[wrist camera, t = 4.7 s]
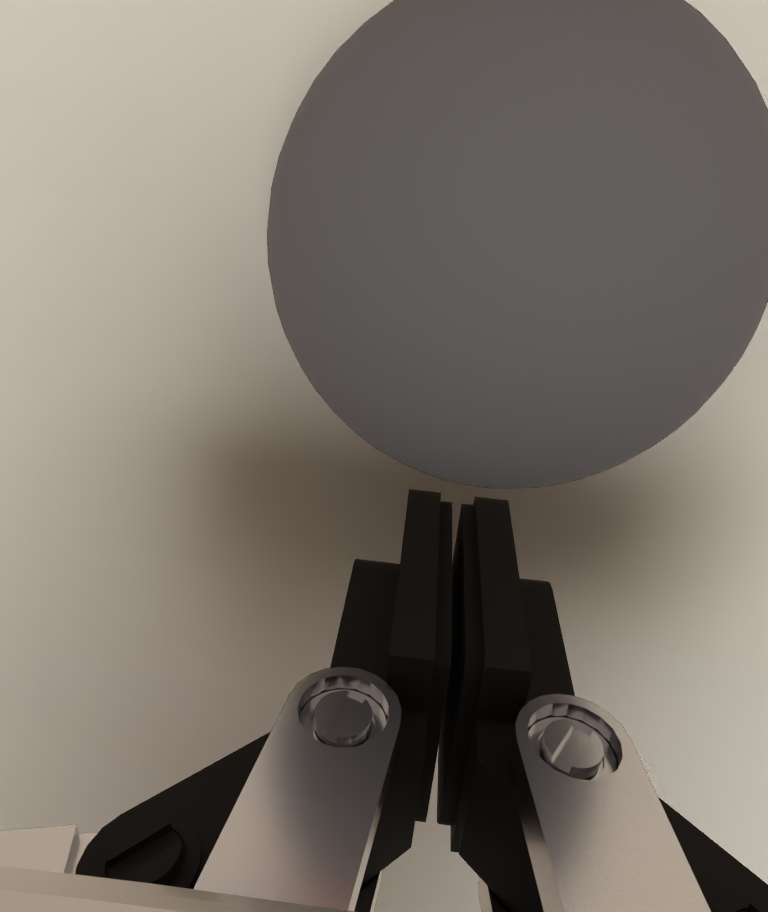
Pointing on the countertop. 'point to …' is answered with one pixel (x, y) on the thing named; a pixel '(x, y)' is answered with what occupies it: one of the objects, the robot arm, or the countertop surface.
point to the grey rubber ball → (523, 232)
